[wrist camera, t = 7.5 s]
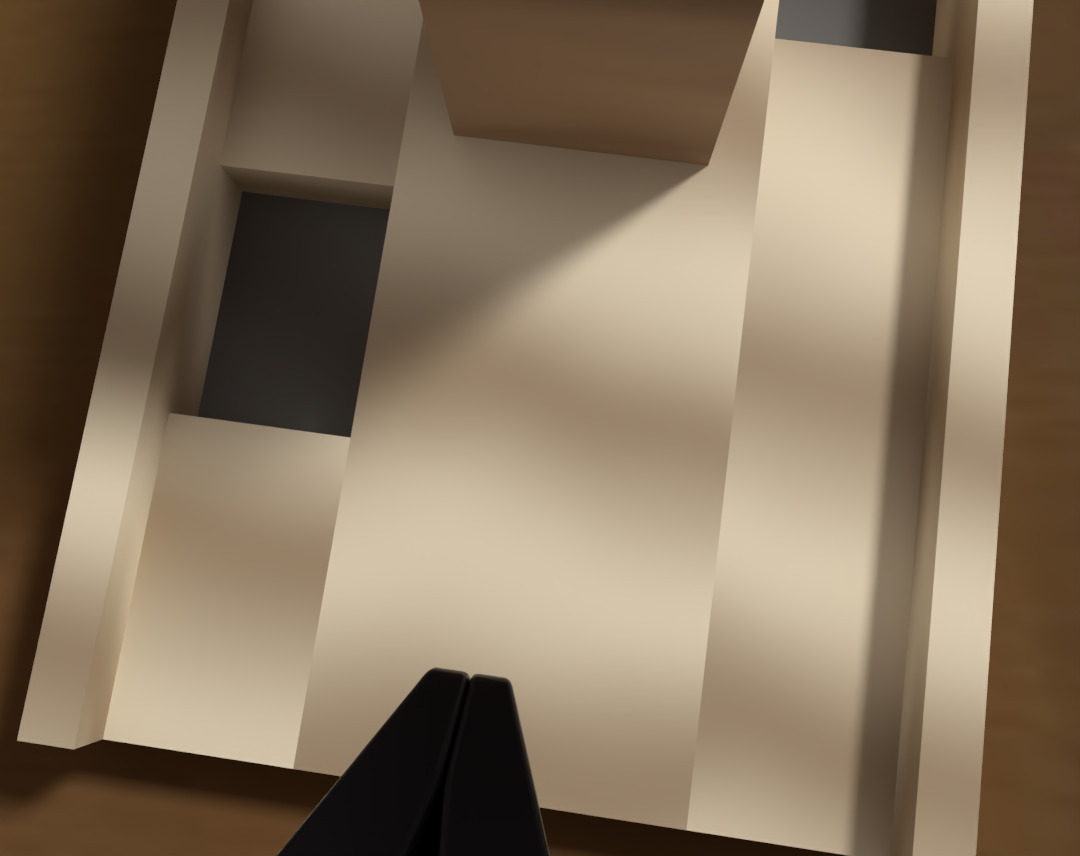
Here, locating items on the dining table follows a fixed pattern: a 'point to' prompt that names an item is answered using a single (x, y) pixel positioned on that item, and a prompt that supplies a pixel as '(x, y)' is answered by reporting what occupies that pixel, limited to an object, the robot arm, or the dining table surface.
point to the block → (592, 71)
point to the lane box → (562, 424)
